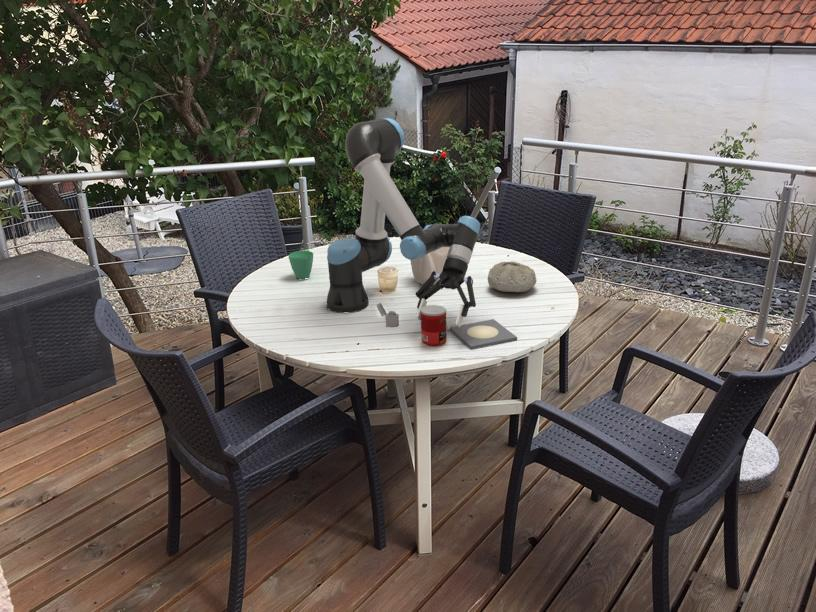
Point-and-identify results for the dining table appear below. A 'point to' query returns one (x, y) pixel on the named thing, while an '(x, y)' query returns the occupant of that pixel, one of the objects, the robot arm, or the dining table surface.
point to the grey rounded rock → (511, 277)
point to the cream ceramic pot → (429, 265)
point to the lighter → (389, 316)
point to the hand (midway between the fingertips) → (437, 322)
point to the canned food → (433, 325)
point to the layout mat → (482, 334)
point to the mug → (301, 263)
